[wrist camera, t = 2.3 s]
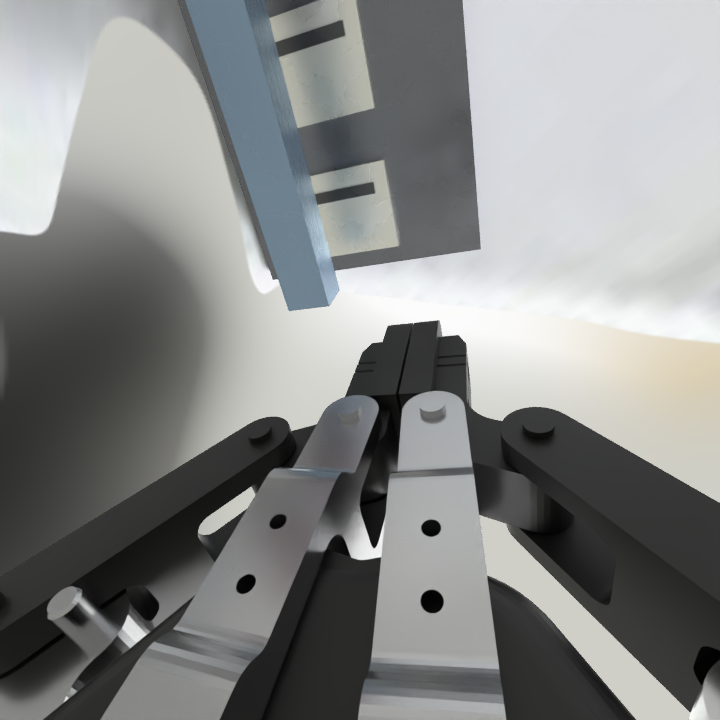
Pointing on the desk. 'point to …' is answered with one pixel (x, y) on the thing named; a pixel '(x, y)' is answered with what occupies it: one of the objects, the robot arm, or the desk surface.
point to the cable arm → (267, 144)
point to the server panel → (377, 124)
